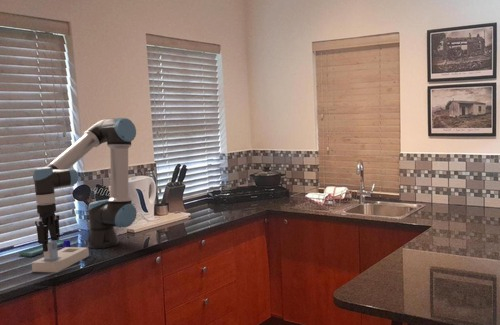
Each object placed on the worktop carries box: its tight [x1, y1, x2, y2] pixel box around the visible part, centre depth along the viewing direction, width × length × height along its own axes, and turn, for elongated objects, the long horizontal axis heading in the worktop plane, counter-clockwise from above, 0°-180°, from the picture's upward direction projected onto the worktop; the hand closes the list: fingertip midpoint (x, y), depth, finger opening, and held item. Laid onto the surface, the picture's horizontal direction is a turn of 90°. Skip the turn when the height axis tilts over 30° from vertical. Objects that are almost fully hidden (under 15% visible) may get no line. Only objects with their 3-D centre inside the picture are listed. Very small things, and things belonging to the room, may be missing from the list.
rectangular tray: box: [17, 239, 65, 258], centre depth 249 cm, size 26×9×2 cm, turn 157°
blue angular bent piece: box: [59, 239, 71, 250], centre depth 237 cm, size 12×4×6 cm, turn 141°
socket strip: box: [31, 246, 90, 274], centre depth 218 cm, size 24×12×5 cm, turn 166°
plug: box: [44, 239, 59, 262], centre depth 210 cm, size 4×5×12 cm
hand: (51, 256), depth 211 cm, fingers closed on plug, 4 cm apart
